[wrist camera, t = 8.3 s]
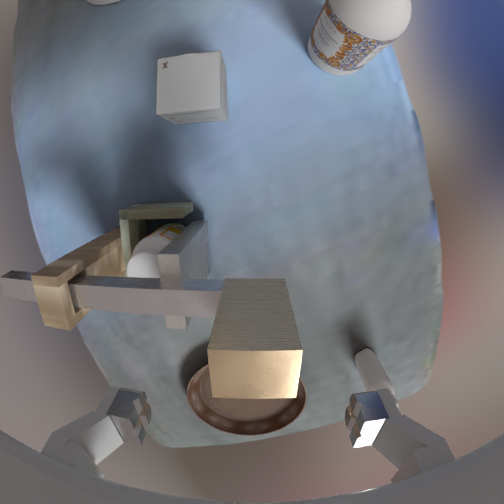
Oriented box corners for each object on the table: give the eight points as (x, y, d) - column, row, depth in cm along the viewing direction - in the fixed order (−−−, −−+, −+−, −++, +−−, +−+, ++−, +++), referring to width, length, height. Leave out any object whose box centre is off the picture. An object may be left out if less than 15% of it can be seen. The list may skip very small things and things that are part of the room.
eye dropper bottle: (350, 376, 39) (373, 433, 27) (355, 348, 37) (382, 406, 26) (376, 371, 39) (402, 425, 27) (381, 344, 37) (414, 397, 25)
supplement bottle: (156, 266, 34) (125, 300, 24) (151, 223, 32) (115, 245, 23) (198, 265, 34) (178, 301, 24) (194, 220, 32) (171, 243, 23)
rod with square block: (69, 224, 31) (-55, 284, 11) (273, 220, 31) (305, 319, 11) (75, 267, 33) (-32, 348, 13) (271, 272, 33) (293, 416, 13)
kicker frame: (115, 205, 31) (23, 239, 16) (193, 201, 31) (134, 237, 15) (124, 281, 34) (54, 353, 18) (197, 283, 34) (157, 372, 18)
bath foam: (296, 37, 25) (336, -75, 6) (344, 25, 24) (413, -68, 5) (323, 84, 27) (403, -3, 8) (371, 69, 26) (472, 1, 7)
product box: (175, 126, 29) (153, 115, 22) (175, 78, 27) (155, 57, 20) (229, 122, 29) (221, 108, 22) (228, 73, 27) (221, 48, 20)
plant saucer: (173, 353, 38) (167, 366, 35) (295, 333, 37) (298, 346, 34) (210, 427, 43) (208, 439, 40) (310, 413, 41) (312, 426, 39)
